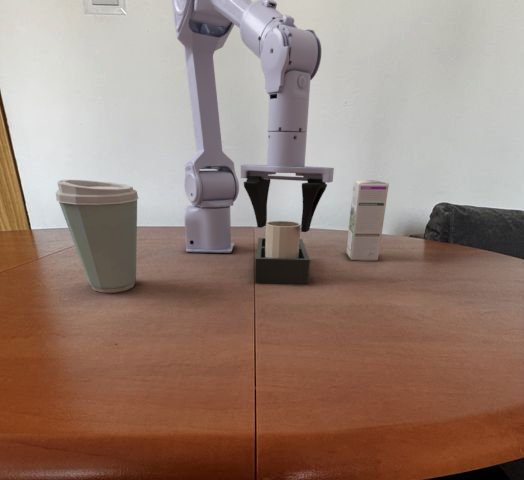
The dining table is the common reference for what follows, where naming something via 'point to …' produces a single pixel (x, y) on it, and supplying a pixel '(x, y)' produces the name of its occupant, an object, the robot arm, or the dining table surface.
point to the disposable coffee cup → (102, 230)
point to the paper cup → (282, 239)
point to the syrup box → (366, 219)
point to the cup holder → (281, 267)
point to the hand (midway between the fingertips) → (283, 228)
